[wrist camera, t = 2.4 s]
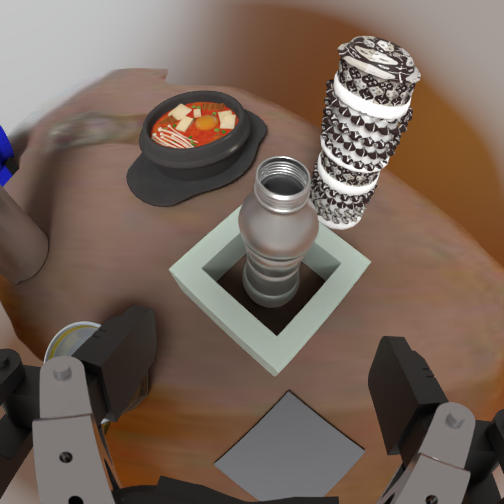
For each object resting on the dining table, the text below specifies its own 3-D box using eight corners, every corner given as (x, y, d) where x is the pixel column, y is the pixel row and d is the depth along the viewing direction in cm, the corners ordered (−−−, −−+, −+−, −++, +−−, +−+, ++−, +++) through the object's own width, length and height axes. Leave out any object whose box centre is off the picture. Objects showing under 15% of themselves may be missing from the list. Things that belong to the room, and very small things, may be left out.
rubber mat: (292, 522, 23) (293, 523, 23) (214, 463, 27) (213, 464, 27) (364, 450, 27) (365, 451, 27) (288, 391, 31) (288, 391, 31)
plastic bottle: (277, 253, 39) (292, 130, 21) (307, 295, 36) (353, 191, 19) (233, 277, 38) (214, 161, 20) (261, 323, 35) (269, 235, 17)
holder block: (274, 377, 32) (279, 372, 27) (180, 289, 37) (168, 269, 32) (355, 282, 37) (371, 261, 32) (265, 211, 42) (266, 184, 37)
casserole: (178, 239, 40) (163, 202, 33) (110, 176, 46) (92, 141, 39) (292, 142, 49) (296, 102, 41) (215, 102, 55) (211, 67, 47)
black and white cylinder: (347, 244, 40) (419, 84, 17) (291, 207, 42) (316, 39, 20) (375, 203, 43) (439, 59, 21) (324, 171, 46) (358, 22, 23)
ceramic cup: (91, 340, 34) (47, 318, 25) (163, 343, 34) (132, 321, 25) (90, 439, 28) (43, 444, 19) (166, 449, 28) (134, 465, 19)
